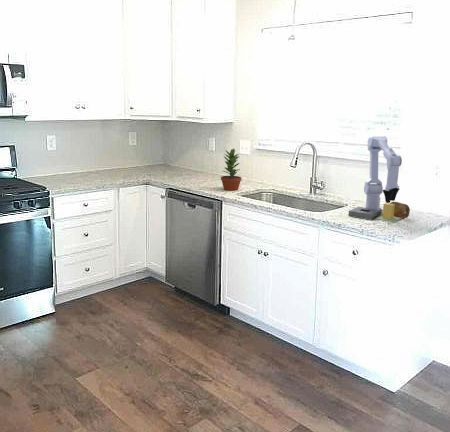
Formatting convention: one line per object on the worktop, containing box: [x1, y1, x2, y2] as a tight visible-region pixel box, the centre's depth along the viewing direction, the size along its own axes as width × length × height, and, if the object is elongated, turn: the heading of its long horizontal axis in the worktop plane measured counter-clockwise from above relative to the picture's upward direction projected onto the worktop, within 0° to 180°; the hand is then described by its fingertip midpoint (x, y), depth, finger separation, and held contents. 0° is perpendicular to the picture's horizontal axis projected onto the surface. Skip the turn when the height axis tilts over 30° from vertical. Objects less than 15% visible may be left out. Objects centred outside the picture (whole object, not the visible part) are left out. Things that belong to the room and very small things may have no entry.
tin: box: [390, 201, 411, 220], centre depth 295 cm, size 15×3×8 cm, turn 24°
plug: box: [381, 202, 395, 219], centre depth 290 cm, size 4×5×8 cm
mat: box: [375, 214, 402, 223], centre depth 290 cm, size 11×11×1 cm
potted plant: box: [220, 147, 242, 192], centre depth 362 cm, size 15×15×30 cm
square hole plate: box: [348, 206, 382, 221], centre depth 297 cm, size 14×14×3 cm
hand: (390, 201), depth 288 cm, fingers open, 7 cm apart
